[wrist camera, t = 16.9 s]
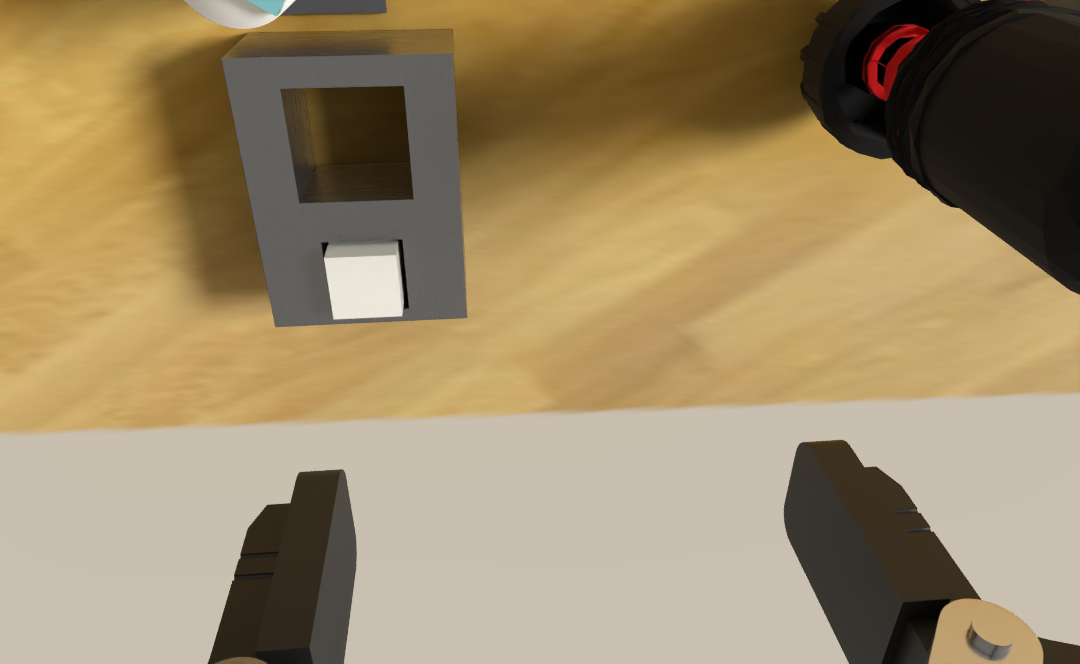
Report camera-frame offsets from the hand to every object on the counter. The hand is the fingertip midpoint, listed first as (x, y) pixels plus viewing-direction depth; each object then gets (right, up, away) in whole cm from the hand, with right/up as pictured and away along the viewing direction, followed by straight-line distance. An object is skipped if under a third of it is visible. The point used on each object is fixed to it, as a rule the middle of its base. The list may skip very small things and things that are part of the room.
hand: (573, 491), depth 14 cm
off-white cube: (-11, +8, +34) cm, 36 cm away
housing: (-11, +13, +33) cm, 37 cm away
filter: (+18, +20, +33) cm, 42 cm away
